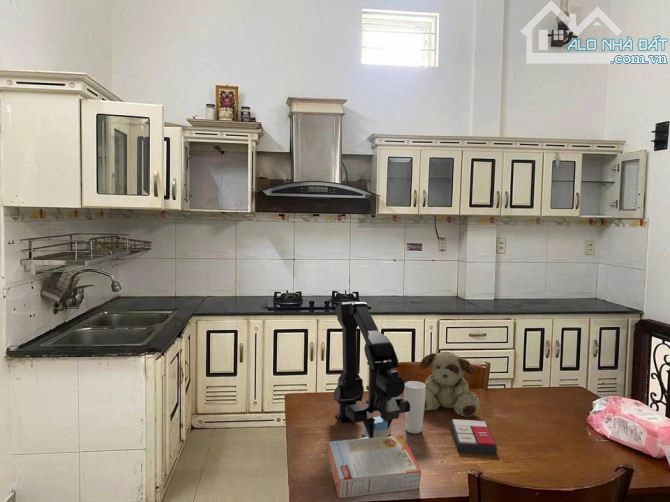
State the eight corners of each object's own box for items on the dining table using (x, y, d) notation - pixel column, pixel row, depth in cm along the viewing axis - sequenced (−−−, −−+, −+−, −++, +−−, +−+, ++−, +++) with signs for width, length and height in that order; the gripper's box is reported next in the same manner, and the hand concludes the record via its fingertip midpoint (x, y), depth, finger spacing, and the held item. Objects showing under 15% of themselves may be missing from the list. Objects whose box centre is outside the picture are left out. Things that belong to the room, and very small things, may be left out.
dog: (409, 410, 161) (411, 355, 159) (420, 392, 178) (422, 342, 177) (478, 422, 152) (480, 363, 151) (482, 402, 169) (484, 349, 168)
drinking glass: (424, 436, 141) (425, 389, 140) (402, 434, 142) (403, 387, 141) (424, 426, 147) (425, 381, 146) (403, 424, 149) (404, 380, 148)
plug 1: (368, 445, 131) (368, 418, 131) (379, 442, 133) (380, 416, 133) (376, 452, 127) (377, 425, 127) (388, 449, 129) (389, 422, 128)
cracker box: (401, 452, 126) (327, 458, 122) (403, 434, 124) (328, 439, 120) (419, 491, 113) (337, 499, 108) (422, 471, 111) (338, 478, 107)
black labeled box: (458, 441, 131) (450, 417, 146) (457, 455, 131) (450, 429, 146) (497, 444, 130) (485, 419, 145) (496, 458, 130) (485, 431, 145)
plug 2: (362, 433, 142) (362, 421, 142) (384, 428, 146) (384, 416, 145) (369, 439, 138) (369, 426, 138) (391, 434, 142) (391, 421, 142)
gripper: (364, 399, 118) (363, 457, 119) (422, 388, 126) (421, 443, 127) (344, 385, 128) (343, 439, 129) (399, 376, 136) (398, 426, 137)
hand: (377, 437), depth 130 cm, fingers closed on plug 1, 4 cm apart
